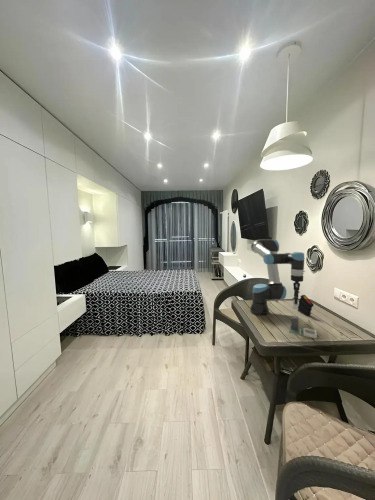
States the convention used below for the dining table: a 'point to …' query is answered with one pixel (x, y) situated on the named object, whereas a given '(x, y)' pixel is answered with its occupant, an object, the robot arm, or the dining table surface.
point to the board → (304, 332)
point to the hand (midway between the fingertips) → (295, 305)
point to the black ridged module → (305, 305)
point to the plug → (294, 323)
